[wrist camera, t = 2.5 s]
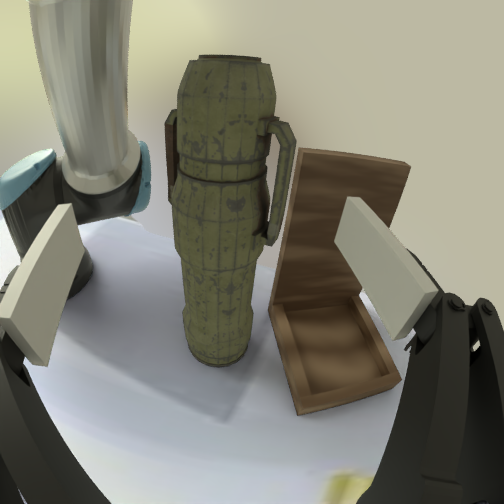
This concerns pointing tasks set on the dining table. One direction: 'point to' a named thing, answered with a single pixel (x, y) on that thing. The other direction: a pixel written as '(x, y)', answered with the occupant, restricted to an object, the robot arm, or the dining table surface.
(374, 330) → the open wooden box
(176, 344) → the dining table surface
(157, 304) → the dining table surface
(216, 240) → the thermos
